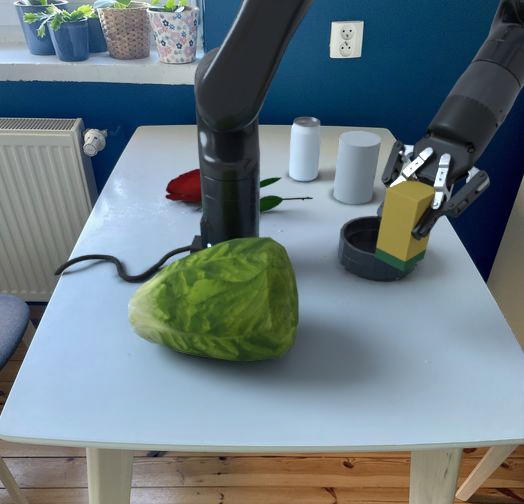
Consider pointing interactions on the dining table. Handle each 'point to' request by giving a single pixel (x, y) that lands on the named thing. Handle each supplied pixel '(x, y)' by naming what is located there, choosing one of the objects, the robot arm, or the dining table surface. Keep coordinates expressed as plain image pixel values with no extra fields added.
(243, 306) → the lettuce
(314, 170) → the can
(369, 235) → the bowl
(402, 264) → the sponge
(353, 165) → the light grey cylinder
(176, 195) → the flower
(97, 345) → the dining table surface
